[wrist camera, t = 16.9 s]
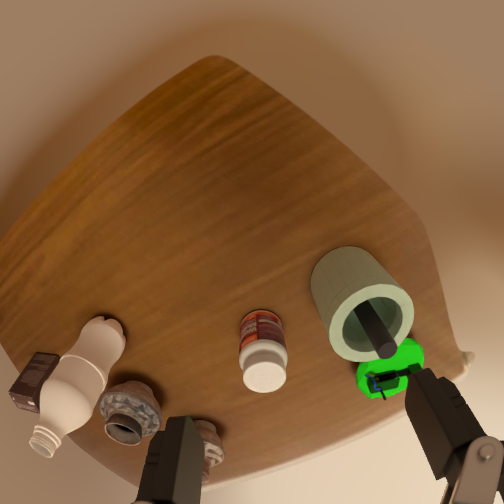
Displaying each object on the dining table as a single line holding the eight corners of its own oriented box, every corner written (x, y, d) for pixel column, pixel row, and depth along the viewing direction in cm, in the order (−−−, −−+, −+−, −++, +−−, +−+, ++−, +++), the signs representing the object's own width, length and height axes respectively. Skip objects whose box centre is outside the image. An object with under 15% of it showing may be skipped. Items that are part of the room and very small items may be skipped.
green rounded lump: (347, 383, 51) (363, 429, 41) (350, 329, 47) (372, 375, 37) (408, 369, 51) (431, 410, 40) (418, 316, 47) (449, 356, 36)
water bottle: (106, 352, 48) (46, 467, 25) (82, 318, 46) (3, 428, 23) (137, 341, 47) (81, 469, 24) (113, 305, 45) (34, 425, 22)
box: (44, 369, 51) (17, 408, 39) (36, 351, 49) (6, 390, 38) (67, 373, 51) (41, 415, 39) (59, 354, 49) (30, 396, 38)
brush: (330, 271, 43) (367, 339, 28) (360, 265, 43) (409, 328, 28) (332, 299, 44) (367, 372, 29) (361, 293, 44) (405, 361, 29)
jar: (306, 253, 43) (325, 295, 31) (376, 240, 42) (416, 275, 31) (314, 317, 46) (331, 370, 35) (378, 303, 46) (410, 349, 34)
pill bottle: (248, 303, 45) (248, 352, 34) (288, 315, 46) (299, 365, 35) (234, 337, 47) (231, 389, 36) (272, 347, 48) (278, 399, 37)
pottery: (205, 448, 57) (201, 494, 46) (100, 388, 52) (78, 433, 40) (240, 426, 55) (239, 476, 43) (125, 357, 49) (102, 407, 37)
